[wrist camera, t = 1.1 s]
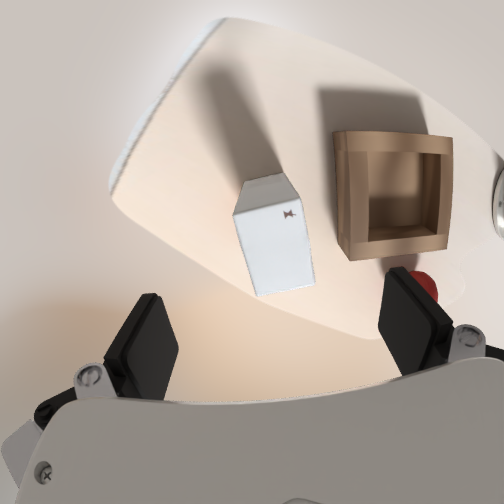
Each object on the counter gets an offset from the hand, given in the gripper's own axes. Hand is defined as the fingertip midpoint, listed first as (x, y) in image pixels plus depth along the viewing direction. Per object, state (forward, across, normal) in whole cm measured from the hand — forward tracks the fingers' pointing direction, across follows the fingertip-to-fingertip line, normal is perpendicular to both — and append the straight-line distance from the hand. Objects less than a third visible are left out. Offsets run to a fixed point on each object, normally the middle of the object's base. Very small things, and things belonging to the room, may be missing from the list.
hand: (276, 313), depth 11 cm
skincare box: (+18, -1, 0) cm, 19 cm away
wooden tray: (+18, -14, -1) cm, 23 cm away
